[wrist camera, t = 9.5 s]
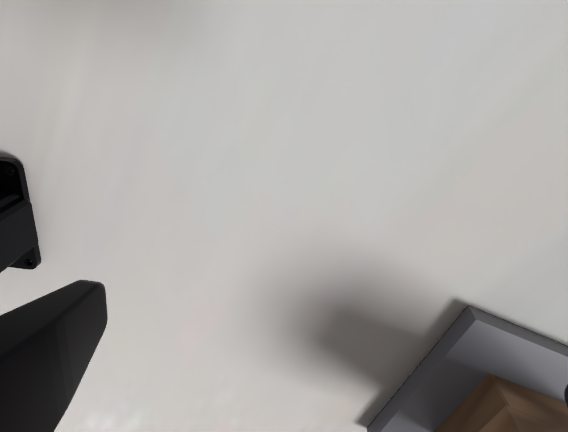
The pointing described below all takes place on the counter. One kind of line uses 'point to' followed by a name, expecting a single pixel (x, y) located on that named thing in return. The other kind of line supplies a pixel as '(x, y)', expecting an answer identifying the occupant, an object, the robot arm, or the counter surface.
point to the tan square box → (506, 410)
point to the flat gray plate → (473, 371)
